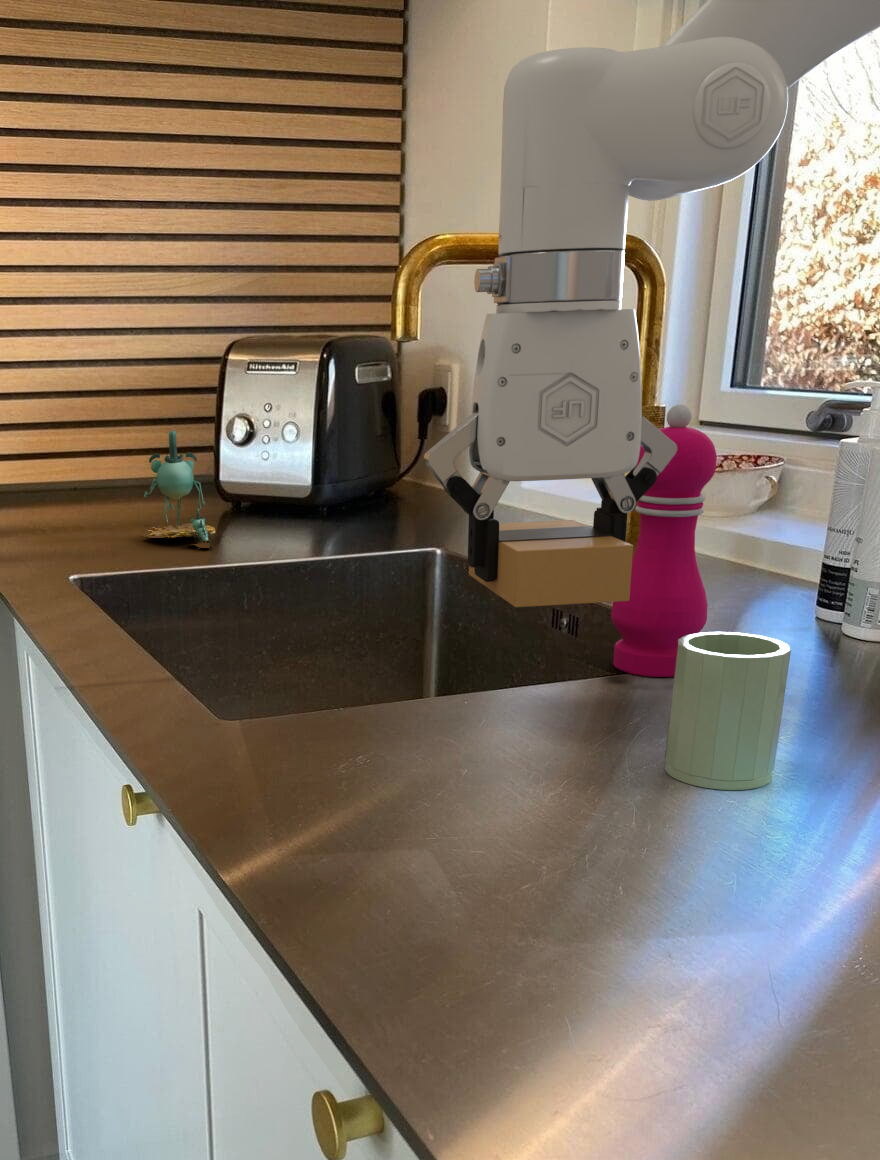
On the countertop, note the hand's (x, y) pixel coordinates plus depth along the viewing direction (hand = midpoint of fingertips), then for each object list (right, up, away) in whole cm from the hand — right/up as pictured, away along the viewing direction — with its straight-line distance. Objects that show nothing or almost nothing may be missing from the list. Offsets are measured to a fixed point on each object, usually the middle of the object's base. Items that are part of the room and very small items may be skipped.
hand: (545, 573), depth 81 cm
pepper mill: (+12, -5, +16) cm, 21 cm away
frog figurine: (-31, +18, +78) cm, 85 cm away
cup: (+9, -13, -7) cm, 17 cm away
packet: (0, -1, 0) cm, 1 cm away
